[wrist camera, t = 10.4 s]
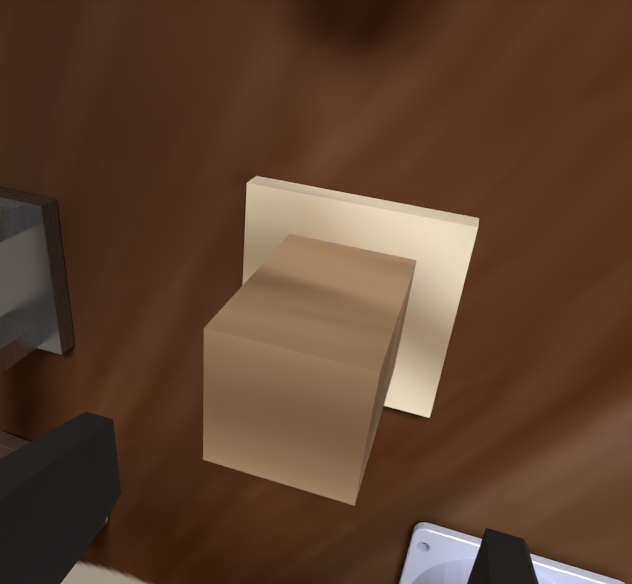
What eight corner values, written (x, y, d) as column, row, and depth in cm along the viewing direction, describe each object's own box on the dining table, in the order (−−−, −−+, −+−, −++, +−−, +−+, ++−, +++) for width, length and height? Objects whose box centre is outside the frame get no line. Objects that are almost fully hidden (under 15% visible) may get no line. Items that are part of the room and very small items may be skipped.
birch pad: (432, 403, 20) (429, 417, 19) (247, 355, 21) (238, 367, 21) (478, 218, 17) (478, 227, 16) (256, 175, 18) (246, 182, 17)
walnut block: (394, 368, 19) (354, 505, 14) (281, 339, 20) (203, 459, 15) (416, 260, 17) (379, 372, 12) (289, 233, 18) (203, 328, 13)
